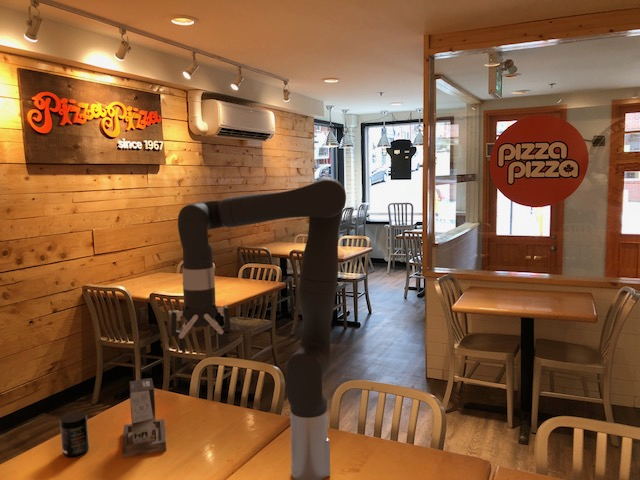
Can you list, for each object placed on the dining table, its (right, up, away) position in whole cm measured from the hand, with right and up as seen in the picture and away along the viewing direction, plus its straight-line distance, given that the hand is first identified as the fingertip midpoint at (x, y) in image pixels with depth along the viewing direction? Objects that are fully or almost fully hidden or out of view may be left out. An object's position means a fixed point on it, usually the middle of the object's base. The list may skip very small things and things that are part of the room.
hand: (201, 349), depth 129 cm
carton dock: (-21, -31, +21) cm, 43 cm away
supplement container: (-38, -32, +16) cm, 52 cm away
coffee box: (-21, -30, +21) cm, 42 cm away
